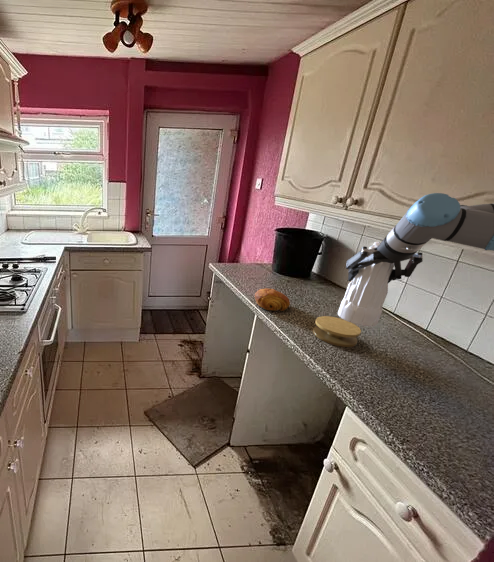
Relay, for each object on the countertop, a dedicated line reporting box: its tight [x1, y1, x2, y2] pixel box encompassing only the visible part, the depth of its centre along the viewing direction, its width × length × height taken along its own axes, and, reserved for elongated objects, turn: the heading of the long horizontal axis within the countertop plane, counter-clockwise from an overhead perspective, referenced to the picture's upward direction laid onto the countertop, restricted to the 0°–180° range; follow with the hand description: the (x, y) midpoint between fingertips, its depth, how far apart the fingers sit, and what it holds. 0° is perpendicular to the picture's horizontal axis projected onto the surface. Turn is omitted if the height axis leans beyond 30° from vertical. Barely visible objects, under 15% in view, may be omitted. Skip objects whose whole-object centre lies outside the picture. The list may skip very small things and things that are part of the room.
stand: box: [312, 315, 362, 348], centre depth 116 cm, size 14×14×5 cm
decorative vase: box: [337, 241, 395, 327], centre depth 97 cm, size 11×11×25 cm
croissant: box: [254, 287, 291, 312], centre depth 140 cm, size 14×16×8 cm
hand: (366, 279), depth 100 cm, fingers closed on decorative vase, 8 cm apart
